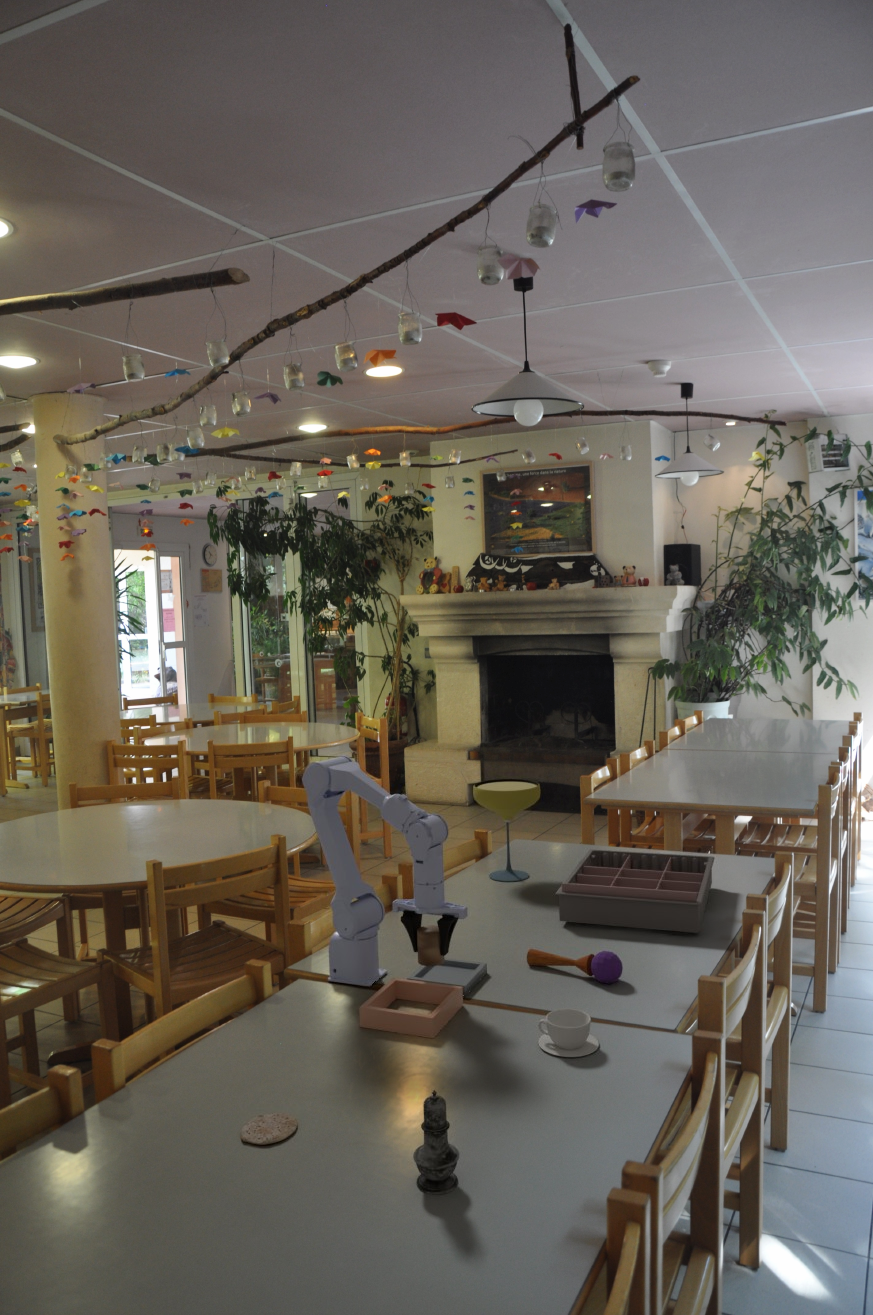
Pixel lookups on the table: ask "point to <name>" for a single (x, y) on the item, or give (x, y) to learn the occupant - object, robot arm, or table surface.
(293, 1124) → the flatbread
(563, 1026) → the teacup
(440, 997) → the holder
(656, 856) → the organizer tray
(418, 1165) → the salt shaker
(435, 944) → the brown rounded cylinder
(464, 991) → the tray
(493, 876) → the cocktail glass
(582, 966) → the kendama
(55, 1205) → the table surface
